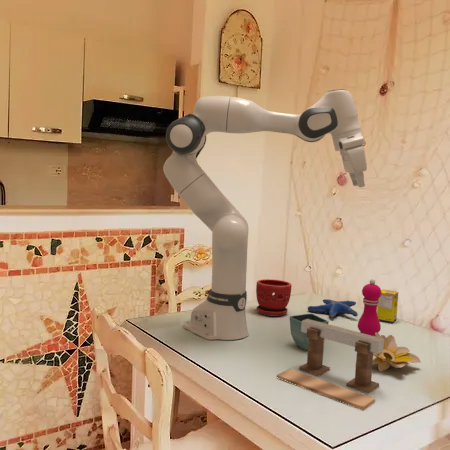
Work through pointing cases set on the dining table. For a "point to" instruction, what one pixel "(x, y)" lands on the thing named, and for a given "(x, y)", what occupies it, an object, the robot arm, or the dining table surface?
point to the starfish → (334, 308)
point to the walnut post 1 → (314, 354)
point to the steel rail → (343, 335)
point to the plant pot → (273, 296)
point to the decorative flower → (393, 355)
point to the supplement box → (387, 306)
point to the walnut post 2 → (363, 370)
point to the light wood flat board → (327, 389)
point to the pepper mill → (370, 310)
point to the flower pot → (296, 328)
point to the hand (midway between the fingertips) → (359, 186)
